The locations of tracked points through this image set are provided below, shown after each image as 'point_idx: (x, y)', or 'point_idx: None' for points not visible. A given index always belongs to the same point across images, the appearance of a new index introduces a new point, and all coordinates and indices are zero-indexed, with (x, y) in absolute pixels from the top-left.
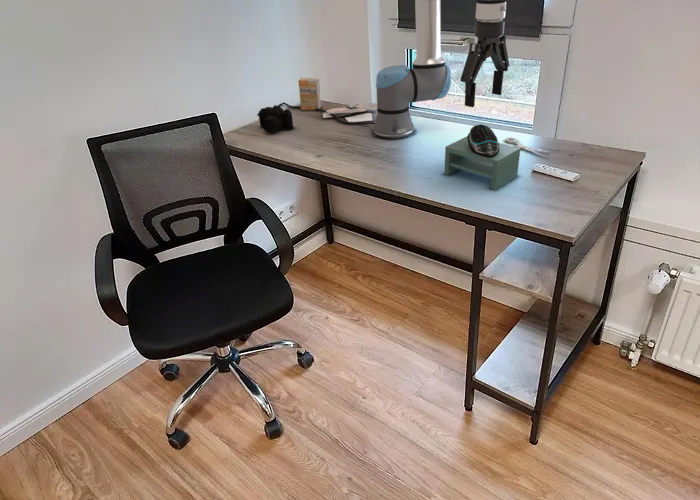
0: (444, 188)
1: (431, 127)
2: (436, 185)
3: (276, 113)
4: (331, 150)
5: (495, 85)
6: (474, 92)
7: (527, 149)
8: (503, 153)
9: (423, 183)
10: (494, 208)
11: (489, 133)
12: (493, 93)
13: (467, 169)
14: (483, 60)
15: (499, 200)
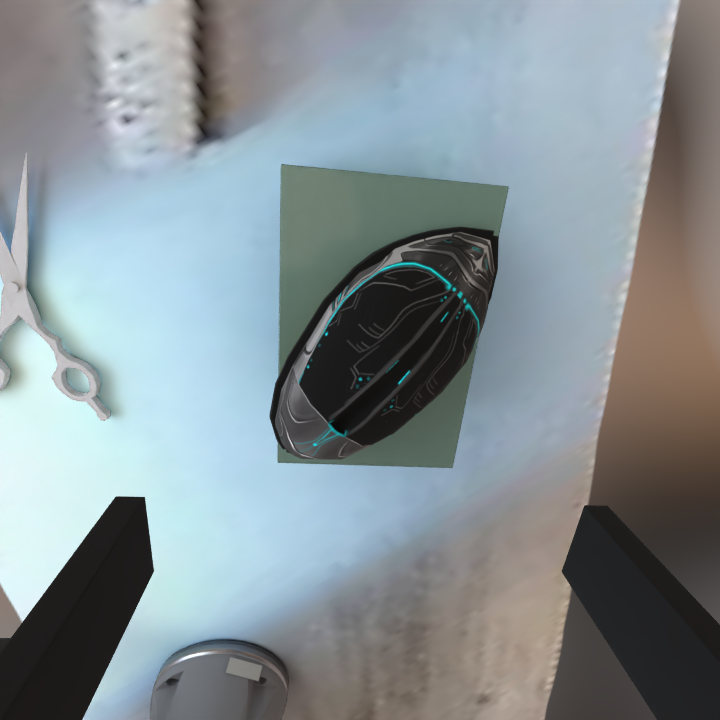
0: (523, 348)
1: None
2: (514, 380)
3: None
4: (435, 703)
5: (103, 633)
6: (712, 635)
7: (22, 266)
8: (403, 210)
9: (518, 419)
10: (603, 113)
11: (410, 327)
12: (150, 561)
13: None
14: None
15: (533, 130)
